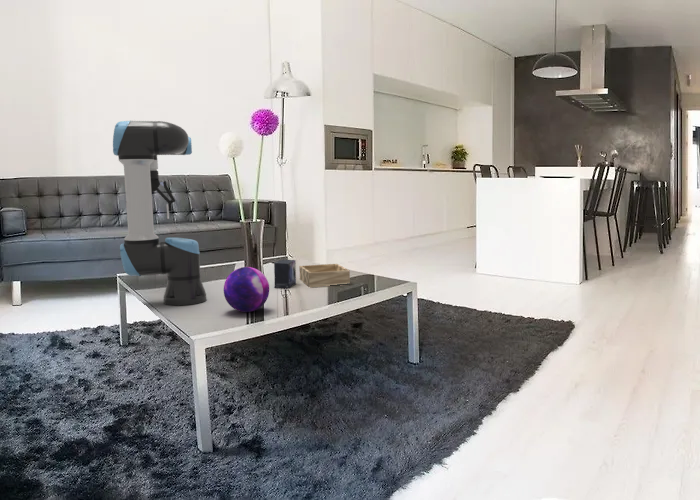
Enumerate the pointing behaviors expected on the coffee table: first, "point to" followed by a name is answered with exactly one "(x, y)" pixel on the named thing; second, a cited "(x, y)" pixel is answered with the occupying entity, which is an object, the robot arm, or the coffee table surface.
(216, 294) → the coffee table surface
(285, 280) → the small box
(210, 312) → the coffee table surface
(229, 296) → the decorative orb
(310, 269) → the pine crate
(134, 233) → the robot arm
